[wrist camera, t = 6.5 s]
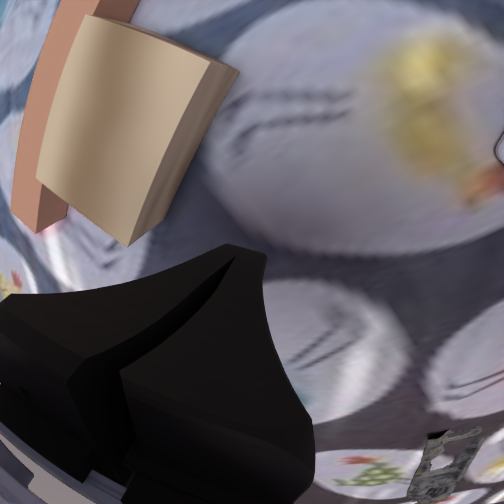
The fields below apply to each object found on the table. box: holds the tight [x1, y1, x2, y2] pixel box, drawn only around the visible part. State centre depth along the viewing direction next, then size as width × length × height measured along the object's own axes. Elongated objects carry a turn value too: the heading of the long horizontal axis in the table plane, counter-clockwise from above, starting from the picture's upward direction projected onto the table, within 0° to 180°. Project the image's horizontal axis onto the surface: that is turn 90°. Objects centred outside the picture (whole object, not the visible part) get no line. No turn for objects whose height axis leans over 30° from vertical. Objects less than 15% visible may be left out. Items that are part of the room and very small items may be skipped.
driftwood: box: [407, 426, 485, 504], centre depth 23 cm, size 21×7×2 cm, turn 13°
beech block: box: [36, 14, 240, 247], centre depth 14 cm, size 7×9×4 cm
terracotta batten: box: [11, 0, 140, 234], centre depth 13 cm, size 3×20×3 cm, turn 151°
